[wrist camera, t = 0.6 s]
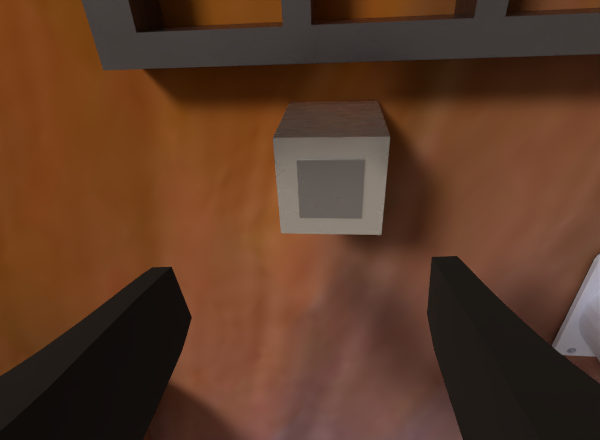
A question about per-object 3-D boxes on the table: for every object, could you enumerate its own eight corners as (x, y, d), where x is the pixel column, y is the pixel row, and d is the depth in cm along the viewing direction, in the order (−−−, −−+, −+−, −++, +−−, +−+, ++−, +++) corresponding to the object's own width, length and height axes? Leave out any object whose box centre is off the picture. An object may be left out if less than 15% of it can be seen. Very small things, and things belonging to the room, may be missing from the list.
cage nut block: (377, 99, 16) (390, 137, 12) (372, 179, 18) (381, 236, 14) (289, 101, 17) (272, 138, 12) (294, 179, 19) (280, 234, 15)
